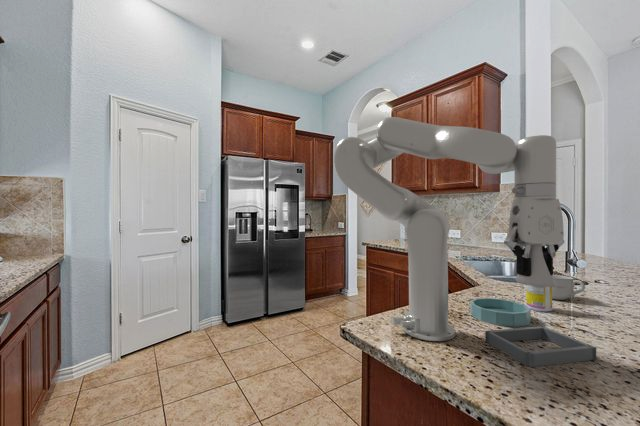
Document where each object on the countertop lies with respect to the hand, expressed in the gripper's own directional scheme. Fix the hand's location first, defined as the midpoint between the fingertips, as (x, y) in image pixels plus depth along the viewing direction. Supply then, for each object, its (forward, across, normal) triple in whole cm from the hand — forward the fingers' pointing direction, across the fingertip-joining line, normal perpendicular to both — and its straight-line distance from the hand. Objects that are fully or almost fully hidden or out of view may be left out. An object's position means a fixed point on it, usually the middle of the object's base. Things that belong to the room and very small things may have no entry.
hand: (534, 273), depth 66 cm
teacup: (+17, +43, +32) cm, 56 cm away
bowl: (+17, +8, +20) cm, 27 cm away
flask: (+2, 0, 0) cm, 2 cm away
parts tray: (+17, 0, 0) cm, 17 cm away
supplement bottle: (+17, +26, +24) cm, 39 cm away
